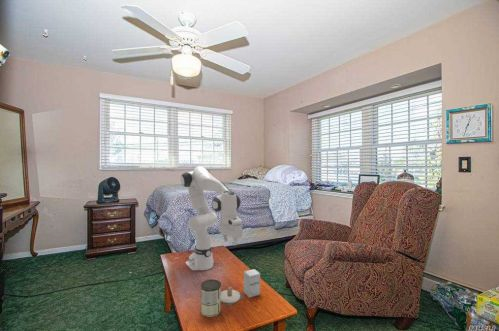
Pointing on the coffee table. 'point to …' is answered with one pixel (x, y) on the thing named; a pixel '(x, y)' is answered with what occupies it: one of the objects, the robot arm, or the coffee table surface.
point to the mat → (235, 302)
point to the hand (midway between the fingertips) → (230, 243)
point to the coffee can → (210, 298)
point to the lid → (230, 295)
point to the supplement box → (251, 283)
